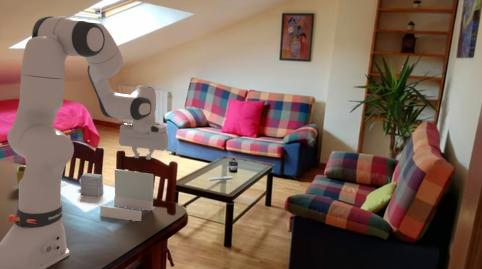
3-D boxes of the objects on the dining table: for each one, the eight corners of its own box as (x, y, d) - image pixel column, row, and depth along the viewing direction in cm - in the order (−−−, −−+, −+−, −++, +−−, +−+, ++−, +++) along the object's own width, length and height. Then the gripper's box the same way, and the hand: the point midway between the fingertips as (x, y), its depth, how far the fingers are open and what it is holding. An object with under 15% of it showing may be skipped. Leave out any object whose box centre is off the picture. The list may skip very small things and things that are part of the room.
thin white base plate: (140, 222, 145) (140, 212, 144) (100, 216, 147) (100, 206, 147) (152, 210, 157) (152, 201, 156) (115, 205, 159) (115, 195, 158)
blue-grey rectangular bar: (137, 218, 149) (137, 212, 149) (113, 214, 150) (113, 208, 150) (140, 215, 152) (141, 209, 152) (116, 212, 153) (116, 206, 153)
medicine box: (102, 193, 171) (103, 174, 169) (98, 197, 167) (98, 177, 165) (85, 191, 172) (85, 172, 170) (80, 194, 167) (80, 175, 166)
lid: (152, 174, 153) (153, 174, 153) (114, 169, 155) (115, 169, 156) (152, 201, 156) (153, 200, 156) (115, 196, 158) (115, 195, 159)
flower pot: (18, 186, 171) (18, 166, 169) (40, 184, 175) (40, 165, 173) (16, 192, 163) (16, 172, 162) (40, 191, 167) (39, 171, 165)
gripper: (116, 123, 157) (115, 156, 160) (164, 129, 154) (163, 163, 157) (123, 121, 163) (122, 153, 166) (170, 127, 160) (168, 159, 163)
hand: (142, 158), depth 161 cm, fingers open, 4 cm apart
